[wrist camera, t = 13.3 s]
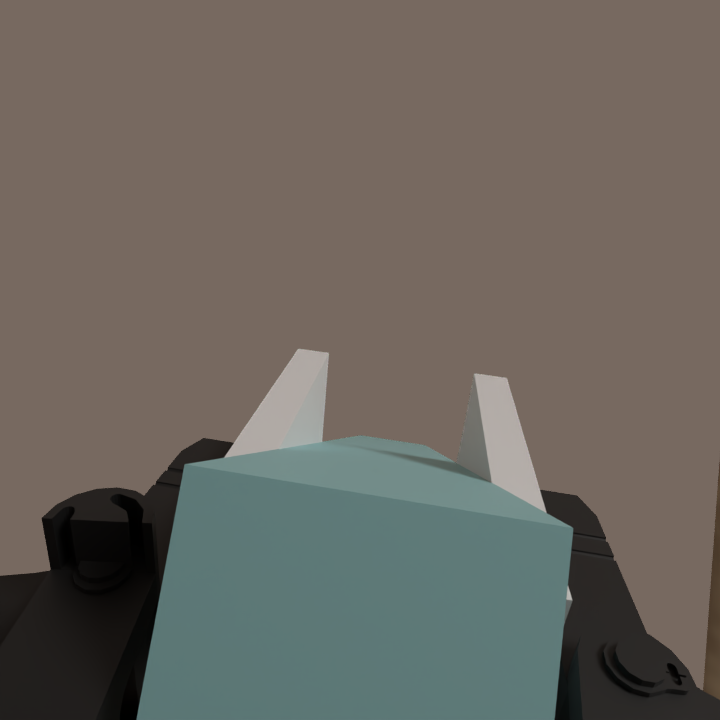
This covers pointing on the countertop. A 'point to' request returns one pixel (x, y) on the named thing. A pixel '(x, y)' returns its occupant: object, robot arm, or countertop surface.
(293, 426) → the robot arm
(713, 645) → the oak block
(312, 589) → the teal block
